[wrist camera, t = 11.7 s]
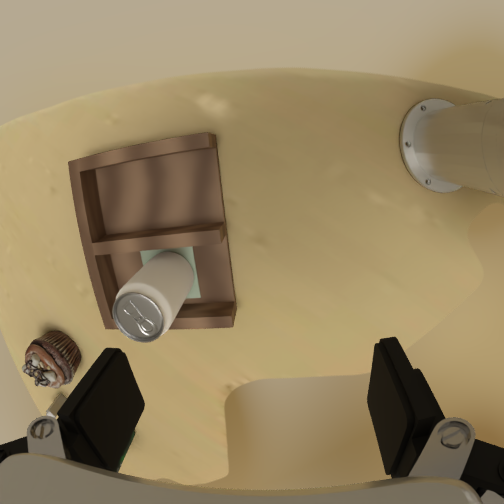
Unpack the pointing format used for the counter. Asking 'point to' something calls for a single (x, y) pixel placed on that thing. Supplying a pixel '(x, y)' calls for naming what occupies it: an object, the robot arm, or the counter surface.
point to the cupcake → (52, 359)
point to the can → (153, 297)
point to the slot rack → (156, 222)
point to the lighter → (56, 406)
